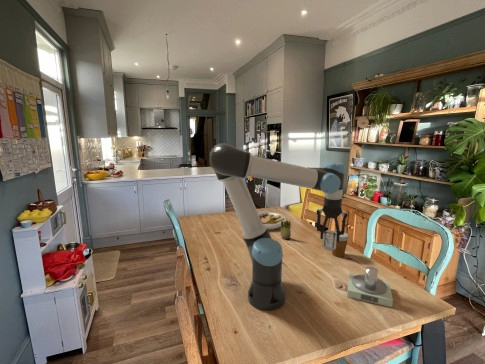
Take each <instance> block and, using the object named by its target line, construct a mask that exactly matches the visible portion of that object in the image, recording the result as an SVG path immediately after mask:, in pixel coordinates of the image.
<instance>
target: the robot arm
mask: <svg viewBox="0 0 485 364" xmlns="http://www.w3.org/2000/svg"><path fill="white" fill-rule="evenodd" d="M209 164H210V167H211V168H212V169H213V171H214V173H215V176H216V177H217V180H218V181H219V182H222V183H223V185H224V188H225V189H226V192H227V194H228V196H229V199H230V201H231V204H232V206H233V208H234V209H233V210H234V211H235V213H236V216H237V218H238V220H239V223H240V225H241V228H242V229H243V232H242V234H241V237H242V238H243V241H244V243H245V246H246V248H247V250H248V253H249V256H250V259H251V264H252V265H251V266H252V269H251V270H252V272H251V273H252V275H251V277H252V278H251V283H250V285H249V287H248V290H247V300H248V302H249V303H250V305H251V306H253V307H254V308H256V309H259V310H263V311H274V310H277V309H279V308H282V306H284V305H285V303H286V292H285V288H284V285H283V282H282V275H283V274H282V273H283V256H284V253H283V247H282V244H281V243H280V242H279V241H277V240H275V239H274V238H272V236H271V233H270V230H268V228H267V226H266V225H265V224H262V222H261V220H260V217H259V215H258V212H259V211H258V210H257V208H256V206H255V203H254V200H253V198H252V195H251V193H250V191H249V188H248V185H247V183H246V180H245V179H246V178H247V177H251V178H256V179H259V180H260V179H261V180H265V181H271V182H274V183H275V182H276V183H282V184H286V185H292V186H297V187H301V188H306V189H311V190H316V191H321V192H323V193H324V194H323V195H324V199H323V206H322V208H318V209H316V215H317V218H316V219H317V221H316V231H317V232H320V236H319V237H320V240H322V244H321V246H322V248H324V241H325V229H326V225H327V222H328V219H333V220H334V225H335V231H336V233H335V240H334V249H336V242H339V237H340V235H344V232H345V231H346V230H345V228H346V221H347V220H346V219H347V218H348V215H349V213H348V212H346V211H343V209H342V206H343V205H342V204H343V199H342V198H343V194H344V193H343V192H344V181H345V175H346V173H345V171H346V169H345V166H346V165H345V164H344V163H340V162H327V163H326V166H325V167H305V166H301V165H296V164H291V163H287V162H282V161H277V160H272V159H269V158H263V157H259V156H255V155H252V153H251V152H250V151H245V150H242V149H239V148H237V147H235V146H234V145H232V144H230V143H227V142H221V143H218V144H216V145H214V146H213V147H212V148H211V149H210V152H209ZM322 214H324V216H325V217H324V221H323V224H322V226H321V223H322V222H321V221H322V219H321V217H322ZM340 215H341V216H342V222H341V230H340V225H339V224H340V223H339V216H340Z"/></svg>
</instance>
